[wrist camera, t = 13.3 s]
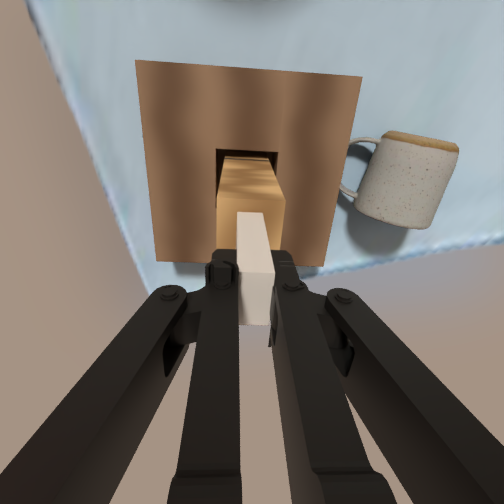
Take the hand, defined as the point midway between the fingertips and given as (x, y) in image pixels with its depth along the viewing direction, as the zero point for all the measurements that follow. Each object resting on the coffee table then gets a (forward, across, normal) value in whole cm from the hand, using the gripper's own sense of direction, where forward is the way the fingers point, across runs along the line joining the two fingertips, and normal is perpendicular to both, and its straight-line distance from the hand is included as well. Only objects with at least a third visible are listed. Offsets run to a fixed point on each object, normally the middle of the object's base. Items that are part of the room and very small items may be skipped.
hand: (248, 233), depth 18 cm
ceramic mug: (+17, +15, +1) cm, 22 cm away
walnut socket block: (+16, 0, 0) cm, 16 cm away
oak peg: (+15, 0, 0) cm, 15 cm away
